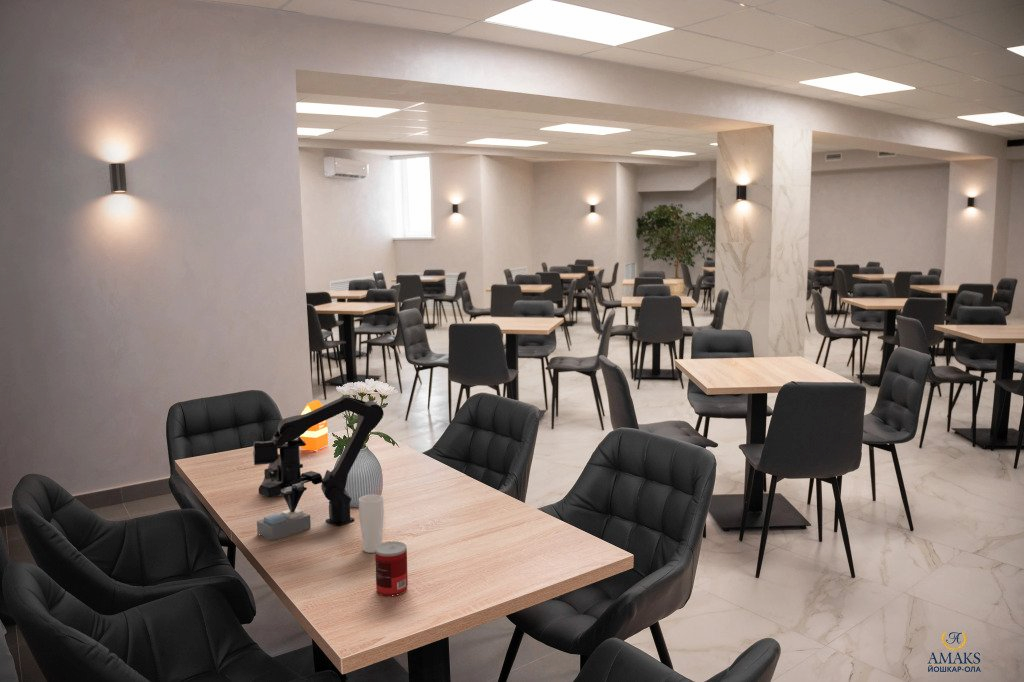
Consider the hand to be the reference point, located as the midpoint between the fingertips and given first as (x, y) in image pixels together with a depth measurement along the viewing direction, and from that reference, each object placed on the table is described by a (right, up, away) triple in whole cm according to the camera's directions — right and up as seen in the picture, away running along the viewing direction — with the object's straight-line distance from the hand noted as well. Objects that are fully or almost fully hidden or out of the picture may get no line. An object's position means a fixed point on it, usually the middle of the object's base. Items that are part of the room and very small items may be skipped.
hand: (292, 511), depth 228 cm
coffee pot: (-12, -2, +29) cm, 32 cm away
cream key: (0, -4, +1) cm, 4 cm away
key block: (-2, -6, -2) cm, 6 cm away
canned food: (+36, -11, -40) cm, 55 cm away
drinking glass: (+27, -7, -16) cm, 32 cm away
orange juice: (-17, +6, +90) cm, 92 cm away
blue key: (-4, -5, -4) cm, 7 cm away
